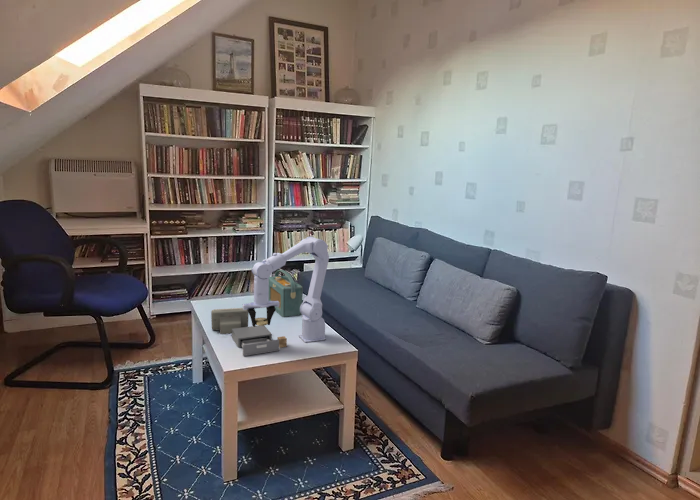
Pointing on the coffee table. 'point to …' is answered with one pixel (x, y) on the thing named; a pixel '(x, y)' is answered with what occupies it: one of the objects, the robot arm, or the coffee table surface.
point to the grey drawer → (259, 346)
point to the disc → (261, 321)
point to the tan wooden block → (282, 341)
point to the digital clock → (229, 319)
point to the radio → (285, 294)
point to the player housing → (250, 333)
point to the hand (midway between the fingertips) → (261, 325)
